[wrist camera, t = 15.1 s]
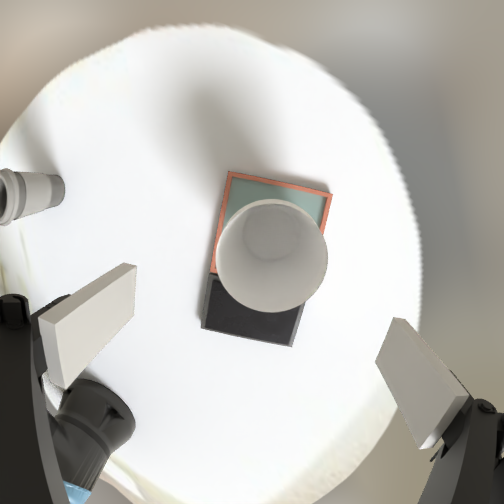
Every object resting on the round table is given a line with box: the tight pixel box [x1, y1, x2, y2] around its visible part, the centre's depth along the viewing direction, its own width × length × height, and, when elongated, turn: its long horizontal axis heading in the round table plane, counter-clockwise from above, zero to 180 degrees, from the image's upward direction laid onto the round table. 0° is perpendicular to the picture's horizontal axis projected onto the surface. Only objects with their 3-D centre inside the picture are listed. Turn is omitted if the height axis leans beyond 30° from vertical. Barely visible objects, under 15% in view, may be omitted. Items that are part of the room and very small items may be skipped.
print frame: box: [210, 171, 333, 274], centre depth 34 cm, size 12×12×1 cm
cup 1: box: [0, 168, 65, 226], centre depth 29 cm, size 7×7×12 cm
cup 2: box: [216, 199, 328, 312], centre depth 28 cm, size 9×9×12 cm
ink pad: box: [201, 272, 306, 347], centre depth 36 cm, size 12×8×2 cm, turn 78°
